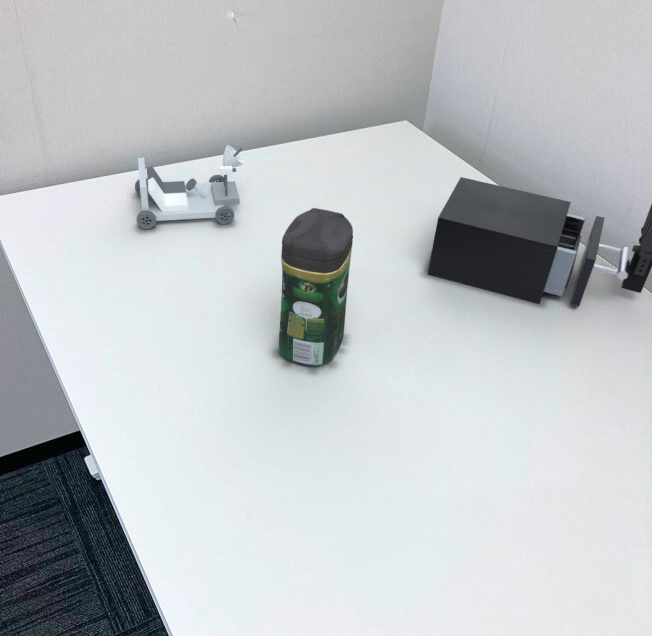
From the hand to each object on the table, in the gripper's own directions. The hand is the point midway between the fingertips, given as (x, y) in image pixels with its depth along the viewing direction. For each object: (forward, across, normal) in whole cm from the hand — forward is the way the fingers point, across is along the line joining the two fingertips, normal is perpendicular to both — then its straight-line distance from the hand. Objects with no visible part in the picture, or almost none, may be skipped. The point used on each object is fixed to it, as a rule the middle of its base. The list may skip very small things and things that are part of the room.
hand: (631, 287), depth 109 cm
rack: (0, 0, -12) cm, 13 cm away
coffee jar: (+2, +30, -38) cm, 49 cm away
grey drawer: (+1, 0, -12) cm, 12 cm away
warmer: (+2, 0, -20) cm, 20 cm away
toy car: (+3, +6, -69) cm, 69 cm away
